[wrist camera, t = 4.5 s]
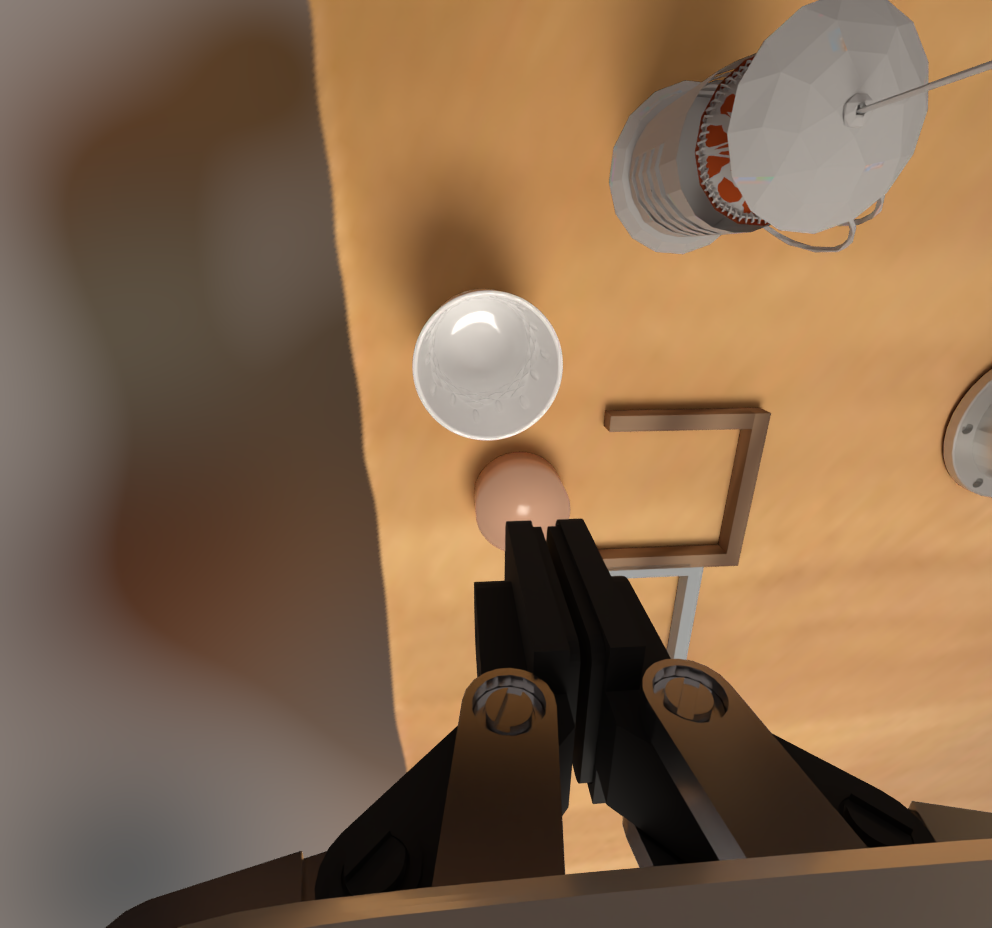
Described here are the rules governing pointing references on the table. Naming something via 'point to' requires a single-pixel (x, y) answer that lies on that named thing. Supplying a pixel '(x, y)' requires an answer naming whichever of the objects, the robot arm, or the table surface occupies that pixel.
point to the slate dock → (683, 602)
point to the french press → (780, 133)
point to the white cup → (487, 364)
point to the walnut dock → (740, 487)
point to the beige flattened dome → (518, 495)
